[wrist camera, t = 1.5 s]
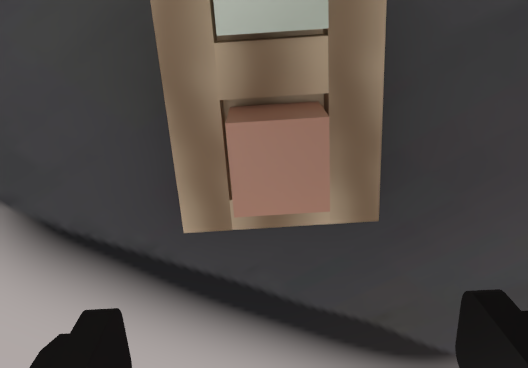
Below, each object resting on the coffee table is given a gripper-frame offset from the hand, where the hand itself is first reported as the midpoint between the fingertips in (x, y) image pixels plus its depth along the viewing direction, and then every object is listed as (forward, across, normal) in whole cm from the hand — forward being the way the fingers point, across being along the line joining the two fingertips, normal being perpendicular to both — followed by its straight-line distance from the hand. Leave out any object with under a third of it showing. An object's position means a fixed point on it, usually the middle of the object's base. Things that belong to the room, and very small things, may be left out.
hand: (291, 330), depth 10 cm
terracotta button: (+16, 0, 0) cm, 16 cm away
